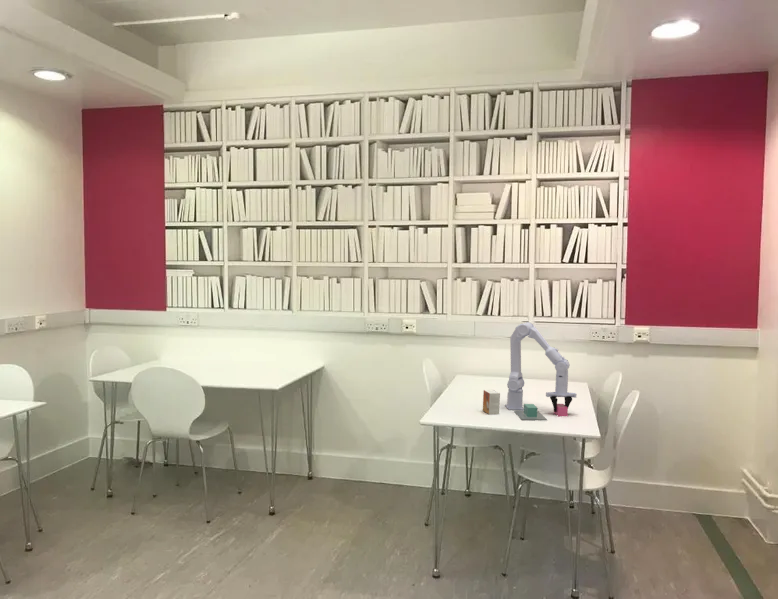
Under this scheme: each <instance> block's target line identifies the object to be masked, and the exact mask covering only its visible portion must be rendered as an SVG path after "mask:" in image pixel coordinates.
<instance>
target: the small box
mask: <svg viewBox="0 0 778 599" xmlns="http://www.w3.org/2000/svg"><path fill="white" fill-rule="evenodd" d="M482 397H483V399H482V411H483V412H485V413H486V414H487V413H488V414H487V415H500V403H501V402H500V399H501V393H500V392H498V391H496V390H494V389H483V395H482Z"/></svg>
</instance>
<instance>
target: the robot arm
mask: <svg viewBox="0 0 778 599" xmlns="http://www.w3.org/2000/svg"><path fill="white" fill-rule="evenodd" d="M526 337H527V338H530V339H533V340H535V341H536V343H538V345H539V346H540V347H541V348H542V349H543V350H544V351H545V353H544V355H545V356H546V357H547V359H549V361H550V362H551V363H552V364H553V366H554V369H555V370H556V373H555V390H554V391H552V392H551V391H550V392H548V391H547V392H545V397H546V398H549V399H550V401H551V403H552V406H553V411H554V412H556V411H557V404H558V398H564V405H565V406H567V407H568V408H569V406H570V404H571V403H572V401H573V398H575V399H576V398H577V393H576V392H568V385H569V384H568V382H569V368H570V362H569V361H568V359H566V358H565V356H562V355H561V353H560V352H559V349H558V348H557V347H554V346H551V345H550V344H549V343H548V341H547V340H546V338H544V336H543V335H542V333H541V332H540V331H539V330H538V328H537V327H536V326H534V324H533V323H532V322H529V321H527V322H524V323H520V324H518V325H517V326H516V327H515V329H514V331H513V332H512V334H511V336H510V346H509V347H510V373H509V376H508V380H507V385H506V386H507V389H508V391H507V396H506V398H507V399H506V404H505V407H506V408H507V410H509V411H511V410H513V411H524V406H523V399H524V398H523V396H524V390H523V388H524V386H525V379H524V378H523V373H522V352H521V350H522V341H523V339H525V338H526Z"/></svg>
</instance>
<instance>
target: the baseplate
mask: <svg viewBox="0 0 778 599" xmlns="http://www.w3.org/2000/svg"><path fill="white" fill-rule="evenodd" d="M513 412H514V413H515V414H516V416H517V415H518V416H519V417H518V416H517V417H518V418H519V419H520V420H521V421H535V420H547V421H548V419H547V418H546V417H545V416H544V415H543V414H542V413H541V412H540V411H538V410H537V417H527V416H526V415H525V414H524V410H513Z"/></svg>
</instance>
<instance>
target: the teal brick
mask: <svg viewBox="0 0 778 599" xmlns="http://www.w3.org/2000/svg"><path fill="white" fill-rule="evenodd" d="M523 408H524V410H523V411H524V414H525V415H526V416H527V417H537V411H538V407H537V406H536V405H535V404H534V403H524V404H523Z"/></svg>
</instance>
